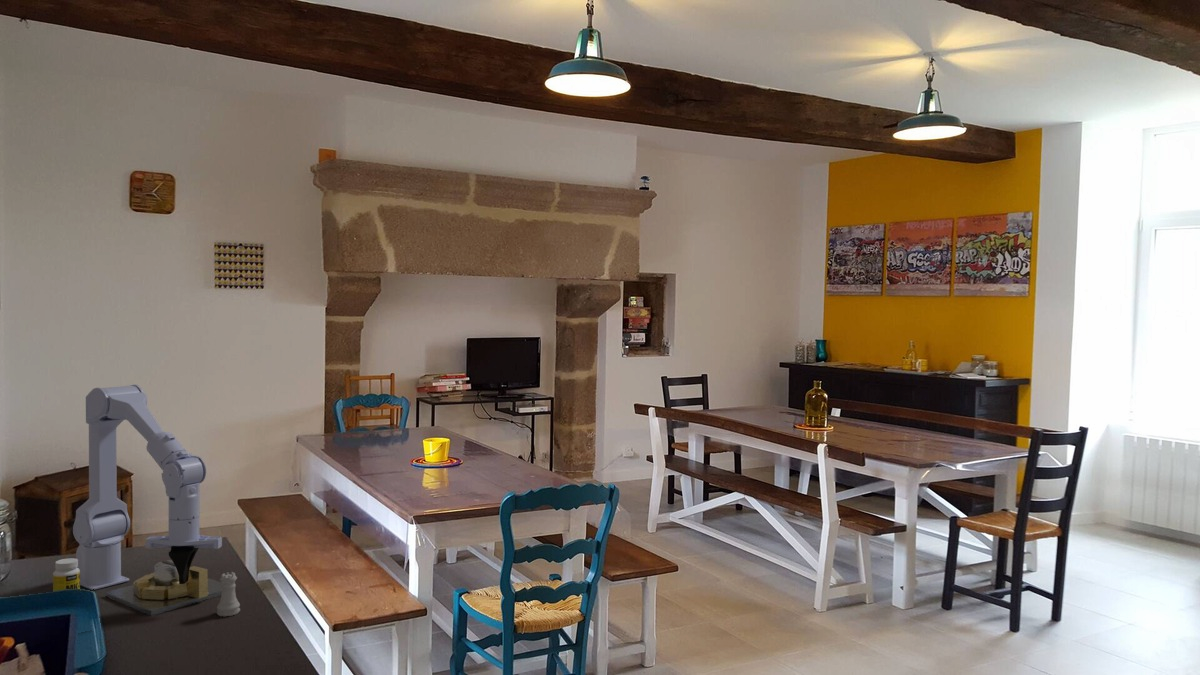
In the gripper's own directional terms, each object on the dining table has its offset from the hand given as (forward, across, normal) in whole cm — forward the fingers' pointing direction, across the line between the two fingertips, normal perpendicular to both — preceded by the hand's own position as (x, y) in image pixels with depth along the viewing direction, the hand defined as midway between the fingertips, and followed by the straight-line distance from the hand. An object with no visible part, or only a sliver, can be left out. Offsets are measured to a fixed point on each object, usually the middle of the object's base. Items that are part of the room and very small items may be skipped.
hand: (183, 582), depth 179 cm
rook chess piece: (+5, -11, +5) cm, 13 cm away
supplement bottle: (+5, +24, -2) cm, 25 cm away
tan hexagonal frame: (+3, +4, -5) cm, 7 cm away
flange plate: (+5, +5, -6) cm, 9 cm away
